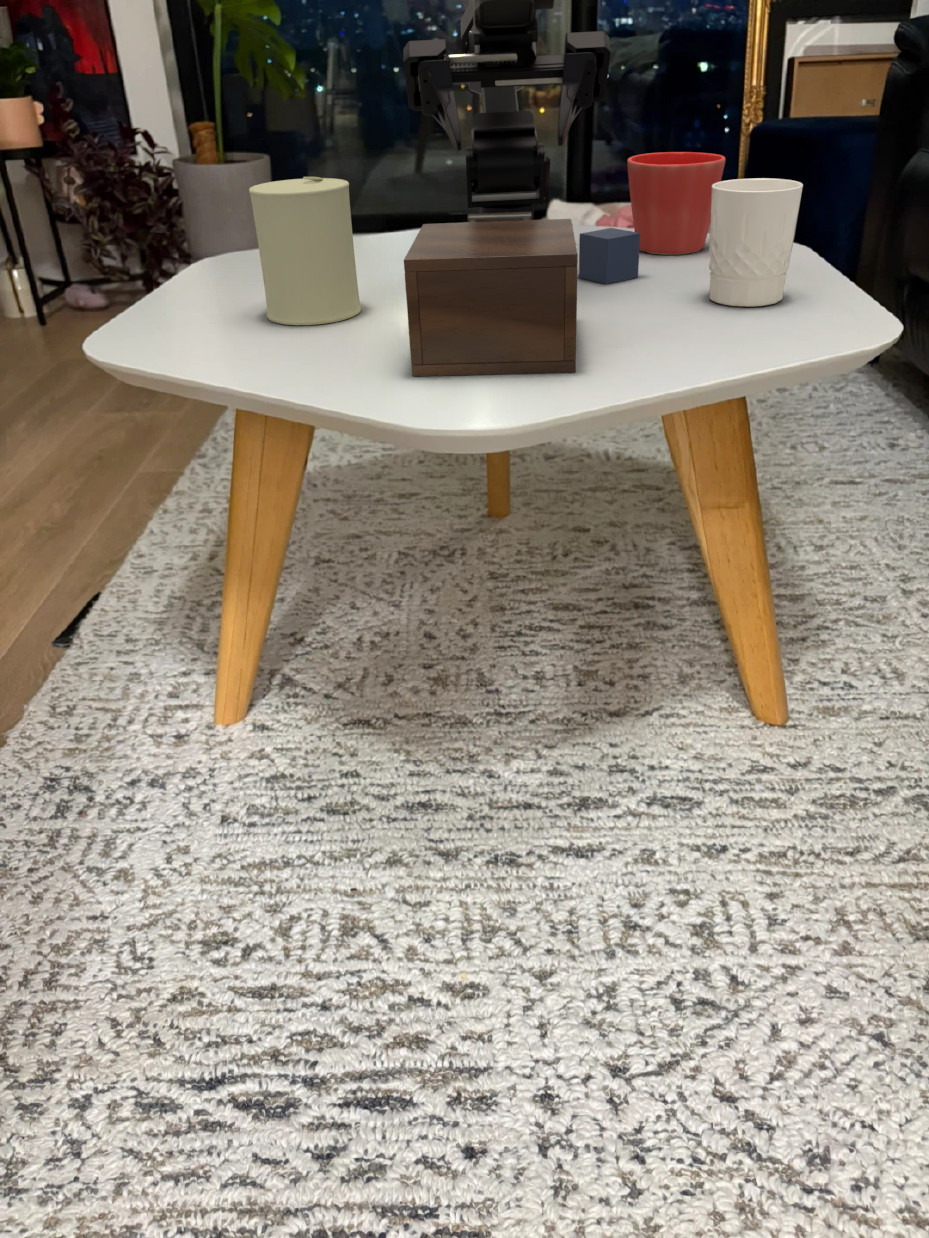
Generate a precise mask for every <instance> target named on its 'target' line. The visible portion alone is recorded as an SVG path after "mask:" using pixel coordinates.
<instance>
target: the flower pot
mask: <svg viewBox="0 0 929 1238" xmlns="http://www.w3.org/2000/svg"><path fill="white" fill-rule="evenodd" d="M626 163H627V178H628V187H629V197H630V205H631V215H632V223H633V229H634V231H633V232H637V233H640V246H639V252H640V251H641V252H642V253H643V252H646V253H648V254H652V255H653V254H654V255H662V256H663V255H664V256H666V255H667V256H668V255H671V256H674V255H688V254H693V253H697V252H699V251H702V249H704V247H705V244H706V241H707V237H708V234H709V230H710V219H711V192H712V185H713V184H714V183H717V182H721V181H722V177H723V174H724V169H725V165H726V157H725V156H724V155H723V154H717V153H710V152H693V151H666V152H665V151H664V152H649V153H641V154H636V155H632V156H630V157H628V158H627V162H626Z"/></svg>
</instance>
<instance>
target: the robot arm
mask: <svg viewBox="0 0 929 1238" xmlns="http://www.w3.org/2000/svg"><path fill="white" fill-rule="evenodd" d="M554 7H555V0H470V1H469V3H468V4H467V6H466V9H465V10H464V12H463V15H462V16H461V18H460V41H461V44H460V45H461V53H455V54H449V53H448V50H447V49H448V48H447V39H445V38H441V39H423V40H408V42H407V43H406V44H405V46H403V51H402V54H403V55H402V57H403V58H402V59H403V60H402V61H403V69H404V71H403V72H404V78H405V79H404V80H405V87H406V96H407V106H408V108H409V109H411V110H413V111H414V112H422V114H423V115H424V116H426V117H433V119H435V120H436V122H437V123H438V124H439V125H440V126H441V127H442V129H443V130H444V132H445V133H446V135H447V136H448V138H449V140H450V142H451V143H452V145H453V147H454V148H455V150H456V151H457V152H461V151H462V135H461V134H462V133H461V124H460V119H459V118H460V117H459V112H458V107H457V101H456V95H455V90H454V84H456V83H457V84H459V83H460V84H461V83H462V84H463V83H468V90H470V91H471V92H473V93H476V94H478V95H481V107H482V112H476V113H475V114H474V115H473V117H472V126H473V127H472V129H471V130H470V133H471V135H470V137H471V146H465V169H466V170H465V172H466V196H467V197H466V198H467V199H466V200H467V209H471V210H472V209H473V208H477V214H483V213H510V212H532V220H534V206H536V205H538V206H544V205H545V204H546V203H547V204H548V203H550V196H549V195H550V175H551V174H550V173H551V172H550V171H551V158H550V156H548V154H547V151H546V149H545V143H544V142H543V143H542V142H541V143H539V140H538V139H539V138H538V133H537V128H536V126H535V120H534V119H535V118H534V113H533V112H531V110H529V109H528V110H520V109H519V100H518V93H517V92H518V91H520V90H522V89H523V88H524V87H527V86H531V85H545V84H546V85H548V84H561V91H560V98H559V100H560V101H559V111H558V120H557V135H556V139H557V146H558V147H564V144H565V141H566V139H567V136H568V133H569V131H570V128H571V126H572V124H573V122H574V120H575V119H576V117H577V116H578V114H579V113H580V111H581V110H583V109H588V108H590V107H591V106H592V105H593V103H600V101H602V100H603V99H605V98H606V94H607V93H606V92H607V85H608V77H609V69H610V63H611V62H610V61H611V52H612V50H611V39H610V37H609V35H608V34H607V33H606V32H605V30H598V31H597V30H596V31H578V32H576V31H575V32H566V33H565V35H564V36H565V37H564V50H563V53H562V54H544V55H537V46H536V45H537V44H536V43H538V41H539V23H538V22H539V21H538V20H539V19H538V11H539V10H552V9H554ZM537 10H538V11H537ZM472 28H473V31H471V30H472ZM500 193H501V194H500ZM473 194H475V195H473ZM479 194H480V195H479Z"/></svg>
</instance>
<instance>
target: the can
mask: <svg viewBox="0 0 929 1238" xmlns="http://www.w3.org/2000/svg"><path fill="white" fill-rule="evenodd" d="M248 192H249V196H250V199H251V200H250V202H251V206H252V213H253V219H254V225H255V232H256V239H257V246H258V252H259V258H260V266H261V272H262V279H263V286H264V295H265V304H266V318H267V319H268V320H269V321H271V322H273V323H276V324H278V325H279V324H280V325H287V326H317V325H325V324H332V323H337V322H340V321H345V320H348V319H351V318H353V317H355V316H358V315H359V314H360V313H361V312H362V304H361V300H360V293H359V286H358V277H357V266H356V256H355V245H354V236H353V235H354V234H353V224H352V212H351V199H350V183H349V181H348V180H345V179H342V178H341V179H340V178H329V177H320V176H303V177H302V178H293V179H284V180H283V179H282V180H275V181H268V182H263V183H258V184H256V185H253V186H250V187H249V189H248Z"/></svg>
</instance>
